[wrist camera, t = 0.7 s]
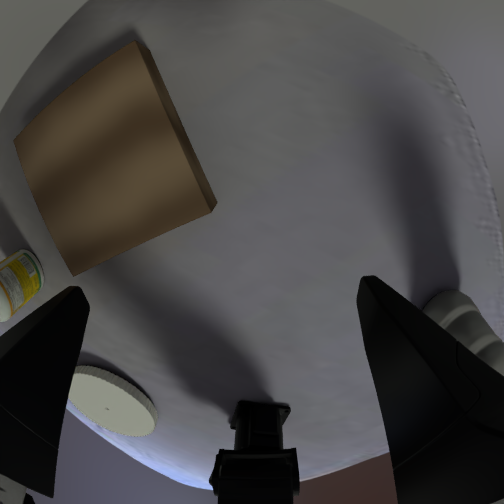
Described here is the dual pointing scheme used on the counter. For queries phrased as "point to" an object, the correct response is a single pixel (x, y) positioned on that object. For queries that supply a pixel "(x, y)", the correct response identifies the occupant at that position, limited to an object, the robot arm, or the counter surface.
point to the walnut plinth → (112, 162)
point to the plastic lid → (112, 402)
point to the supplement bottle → (18, 281)
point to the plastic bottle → (467, 326)
